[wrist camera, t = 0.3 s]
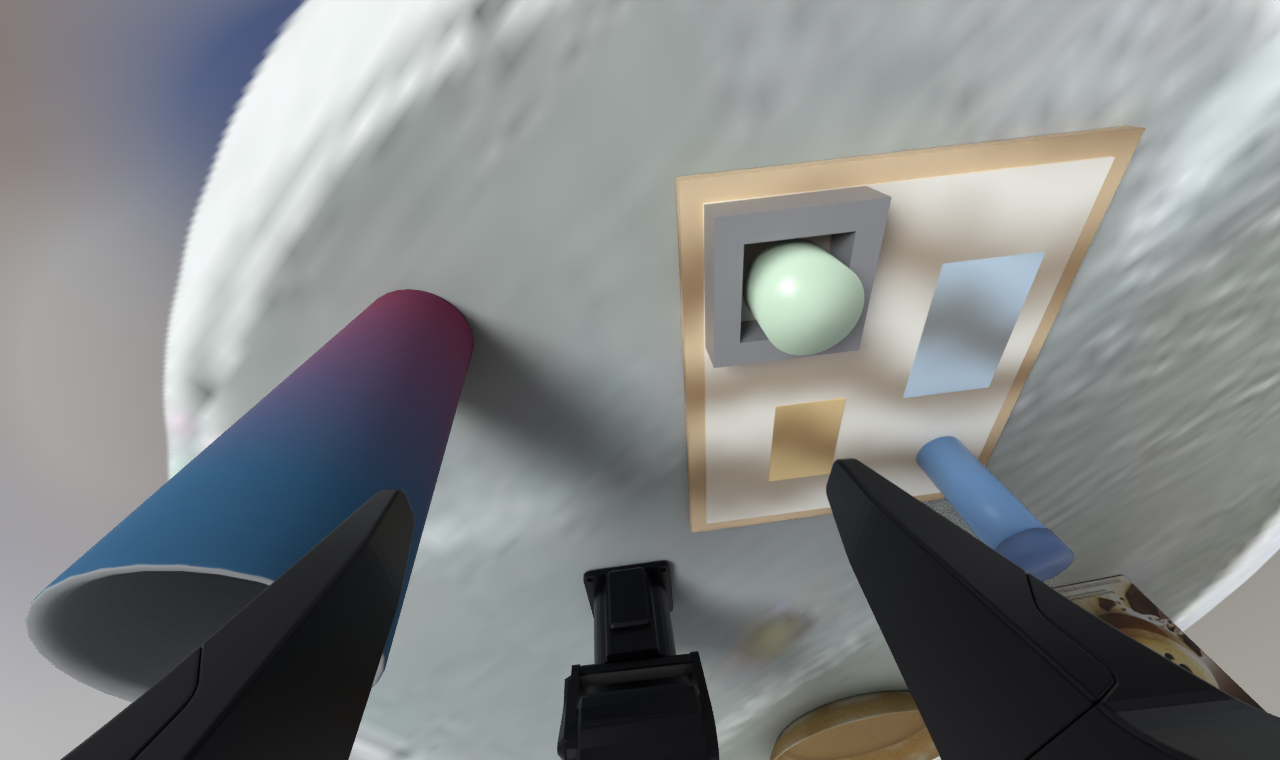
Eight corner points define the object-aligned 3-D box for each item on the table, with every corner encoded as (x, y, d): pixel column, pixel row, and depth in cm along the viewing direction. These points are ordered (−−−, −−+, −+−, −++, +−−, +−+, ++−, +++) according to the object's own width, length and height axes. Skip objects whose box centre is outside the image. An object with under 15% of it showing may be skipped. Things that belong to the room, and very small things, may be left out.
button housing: (840, 330, 24) (859, 349, 22) (705, 346, 23) (714, 368, 22) (866, 185, 20) (891, 196, 18) (704, 204, 20) (714, 217, 18)
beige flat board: (964, 486, 33) (974, 498, 32) (690, 523, 33) (692, 536, 32) (1127, 126, 20) (1152, 128, 19) (676, 177, 20) (680, 182, 19)
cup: (417, 241, 20) (150, 516, 8) (520, 351, 24) (446, 659, 11) (312, 321, 22) (-48, 652, 10) (423, 412, 25) (266, 741, 13)
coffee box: (1125, 571, 43) (1369, 801, 29) (1100, 608, 46) (1306, 827, 33) (1025, 591, 43) (1221, 827, 30) (1008, 625, 47) (1175, 849, 33)
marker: (953, 466, 30) (1058, 580, 24) (909, 472, 30) (1001, 588, 24) (968, 431, 29) (1084, 544, 22) (921, 438, 29) (1023, 553, 22)
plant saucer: (993, 689, 56) (1013, 721, 54) (864, 763, 68) (875, 792, 65) (840, 667, 49) (855, 703, 46) (725, 754, 61) (732, 787, 58)
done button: (824, 317, 22) (854, 349, 19) (741, 327, 22) (760, 361, 19) (837, 232, 20) (873, 256, 17) (744, 243, 19) (767, 269, 17)
